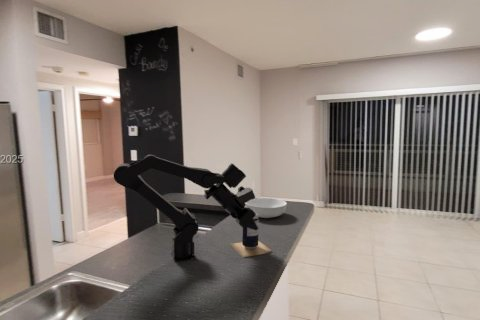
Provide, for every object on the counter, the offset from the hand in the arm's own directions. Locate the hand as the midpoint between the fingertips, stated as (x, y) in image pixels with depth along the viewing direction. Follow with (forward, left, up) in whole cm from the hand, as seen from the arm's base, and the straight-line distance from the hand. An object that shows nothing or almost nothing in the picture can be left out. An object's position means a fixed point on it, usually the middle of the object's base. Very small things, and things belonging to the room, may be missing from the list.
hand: (254, 226), depth 105 cm
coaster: (-1, 0, -8) cm, 8 cm away
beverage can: (-1, 0, -7) cm, 8 cm away
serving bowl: (+25, +34, -8) cm, 43 cm away
